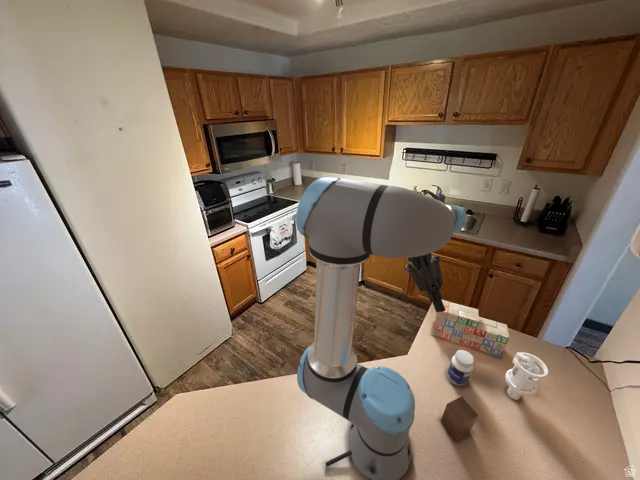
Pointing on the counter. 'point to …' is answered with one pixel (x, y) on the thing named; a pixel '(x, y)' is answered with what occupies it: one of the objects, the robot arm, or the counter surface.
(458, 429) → the walnut block
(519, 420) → the counter surface
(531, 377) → the strainer
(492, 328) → the stack of blocks
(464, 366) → the pill bottle
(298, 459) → the counter surface
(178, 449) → the counter surface
